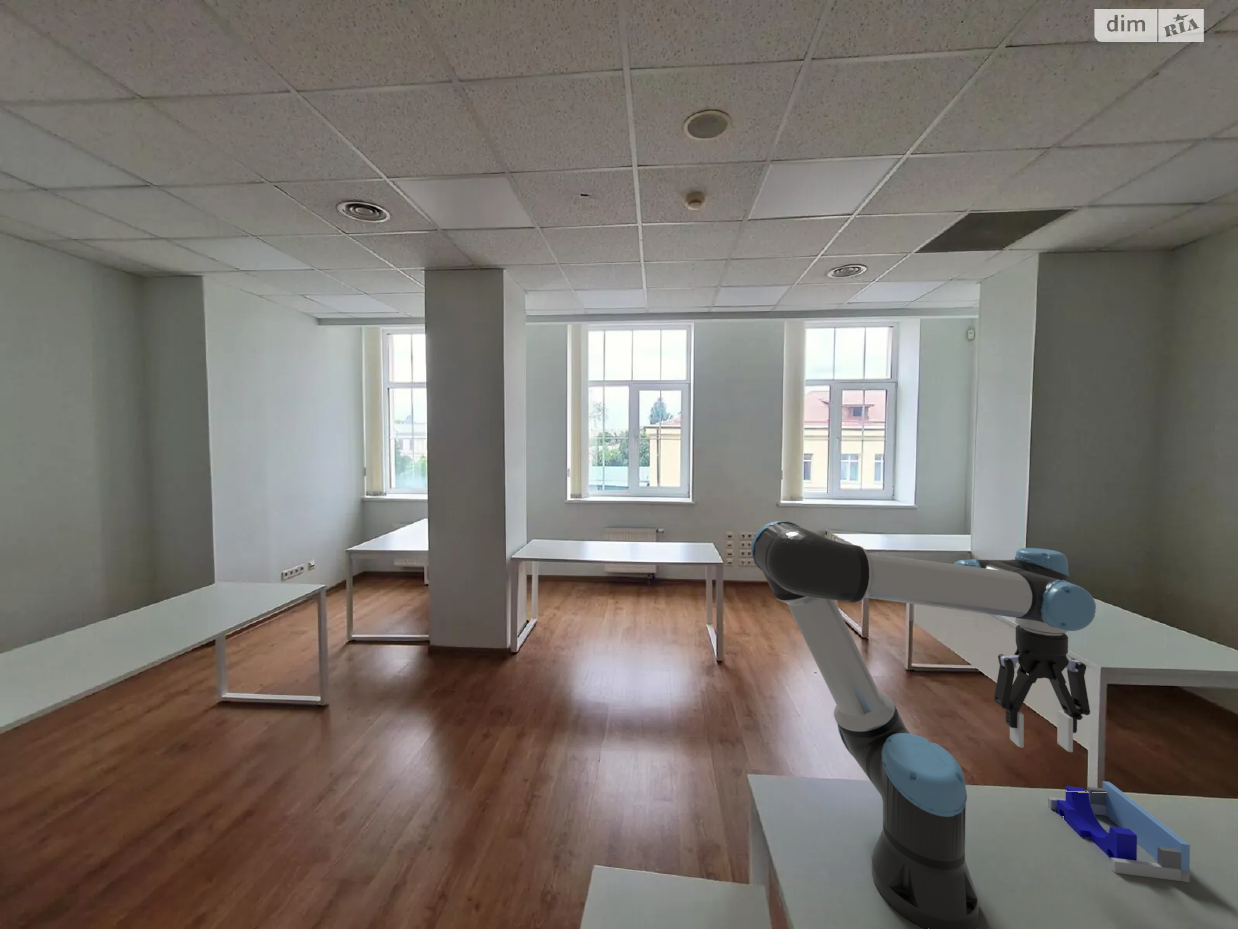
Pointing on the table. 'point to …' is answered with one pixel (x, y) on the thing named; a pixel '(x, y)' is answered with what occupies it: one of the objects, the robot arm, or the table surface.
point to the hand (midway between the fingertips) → (1040, 745)
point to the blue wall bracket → (1140, 835)
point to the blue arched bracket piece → (1096, 826)
